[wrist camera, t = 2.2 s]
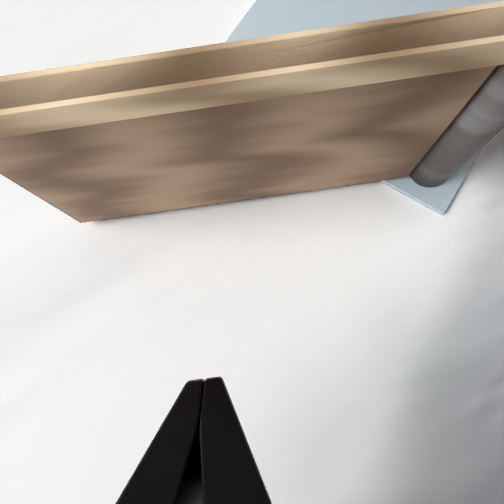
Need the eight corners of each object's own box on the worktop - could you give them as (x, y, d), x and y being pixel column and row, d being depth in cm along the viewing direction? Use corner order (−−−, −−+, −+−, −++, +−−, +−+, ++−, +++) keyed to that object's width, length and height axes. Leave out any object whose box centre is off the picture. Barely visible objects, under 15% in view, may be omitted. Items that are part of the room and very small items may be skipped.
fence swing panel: (402, 157, 23) (513, -1, 12) (407, 180, 23) (525, 37, 12) (79, 203, 24) (-83, 88, 13) (80, 226, 23) (-85, 128, 13)
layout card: (441, 215, 23) (444, 213, 23) (199, 81, 26) (198, 78, 25) (566, -2, 26) (570, -6, 25) (333, -102, 28) (334, -107, 28)
